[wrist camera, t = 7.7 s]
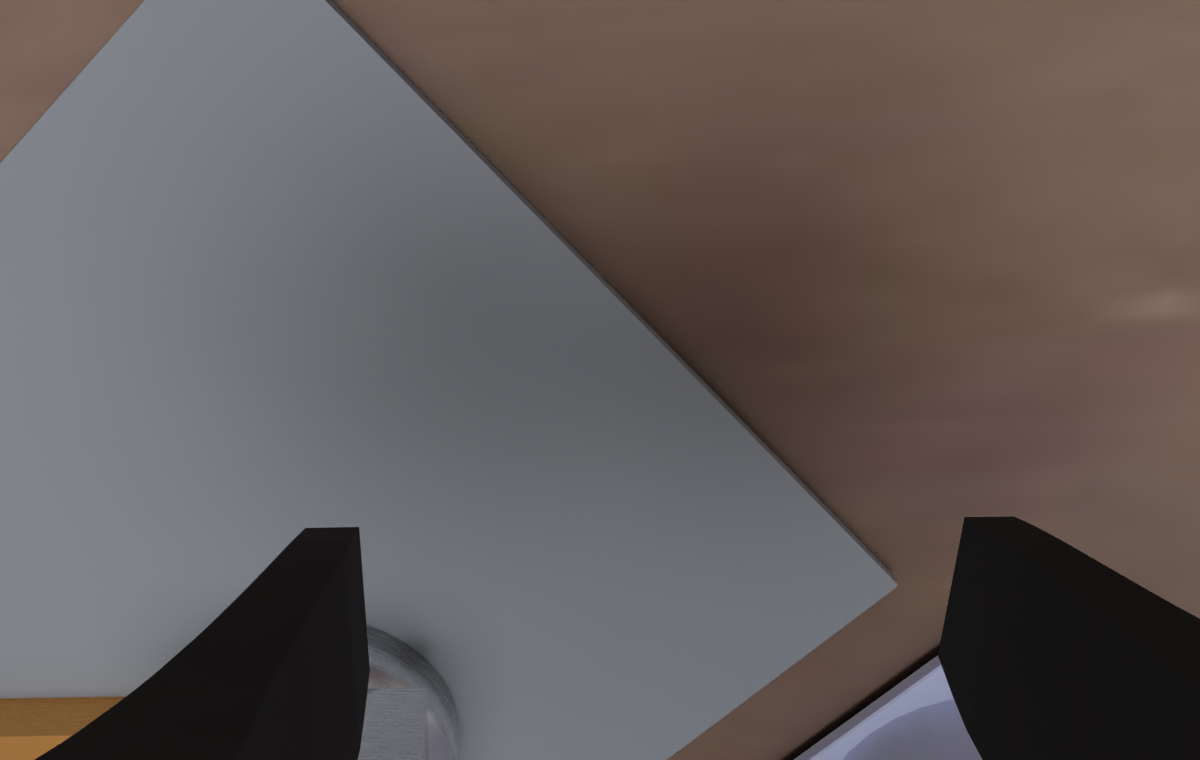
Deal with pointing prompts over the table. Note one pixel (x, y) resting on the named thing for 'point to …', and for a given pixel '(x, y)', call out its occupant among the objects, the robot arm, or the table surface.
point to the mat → (367, 404)
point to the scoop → (36, 725)
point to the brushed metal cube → (395, 725)
